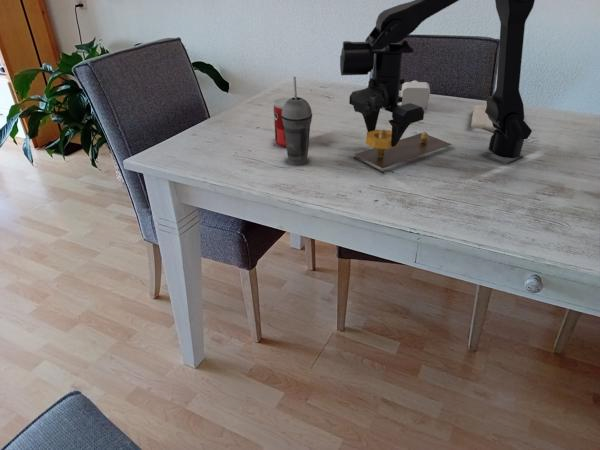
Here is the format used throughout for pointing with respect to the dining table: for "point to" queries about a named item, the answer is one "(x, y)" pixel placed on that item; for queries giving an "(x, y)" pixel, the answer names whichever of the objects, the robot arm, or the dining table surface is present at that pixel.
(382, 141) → the ring
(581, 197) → the dining table surface
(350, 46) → the robot arm
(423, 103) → the grey block
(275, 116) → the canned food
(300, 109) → the beverage cup
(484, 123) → the washcloth
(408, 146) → the peg rack
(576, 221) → the dining table surface
